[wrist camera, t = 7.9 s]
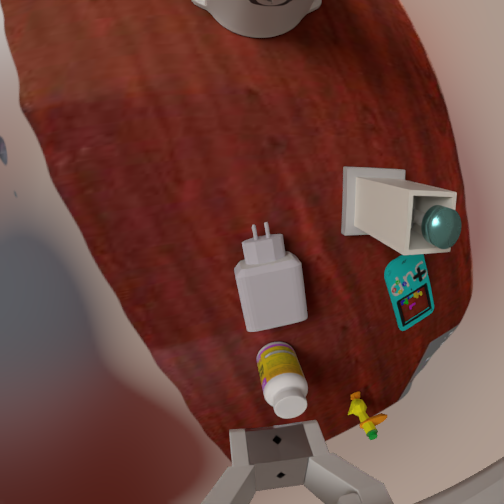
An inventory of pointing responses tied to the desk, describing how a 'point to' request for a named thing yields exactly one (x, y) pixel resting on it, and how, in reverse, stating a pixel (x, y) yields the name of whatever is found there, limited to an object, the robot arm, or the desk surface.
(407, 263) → the handheld gaming console
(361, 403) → the toy figure
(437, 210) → the plunger
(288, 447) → the robot arm
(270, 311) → the charger
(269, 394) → the supplement bottle
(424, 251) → the press housing
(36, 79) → the desk surface
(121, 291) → the desk surface
